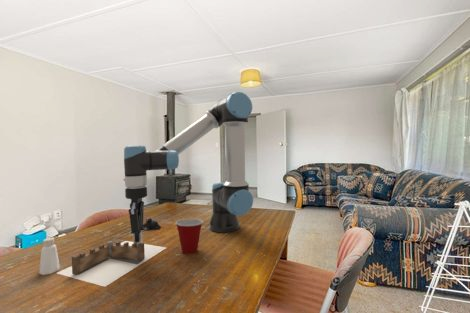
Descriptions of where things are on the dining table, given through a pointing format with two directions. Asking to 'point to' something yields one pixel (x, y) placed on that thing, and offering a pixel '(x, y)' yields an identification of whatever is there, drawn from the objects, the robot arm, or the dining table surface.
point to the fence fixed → (88, 259)
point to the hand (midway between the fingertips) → (138, 249)
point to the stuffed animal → (151, 225)
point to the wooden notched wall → (126, 250)
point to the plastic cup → (189, 234)
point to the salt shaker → (49, 257)
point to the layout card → (111, 267)
